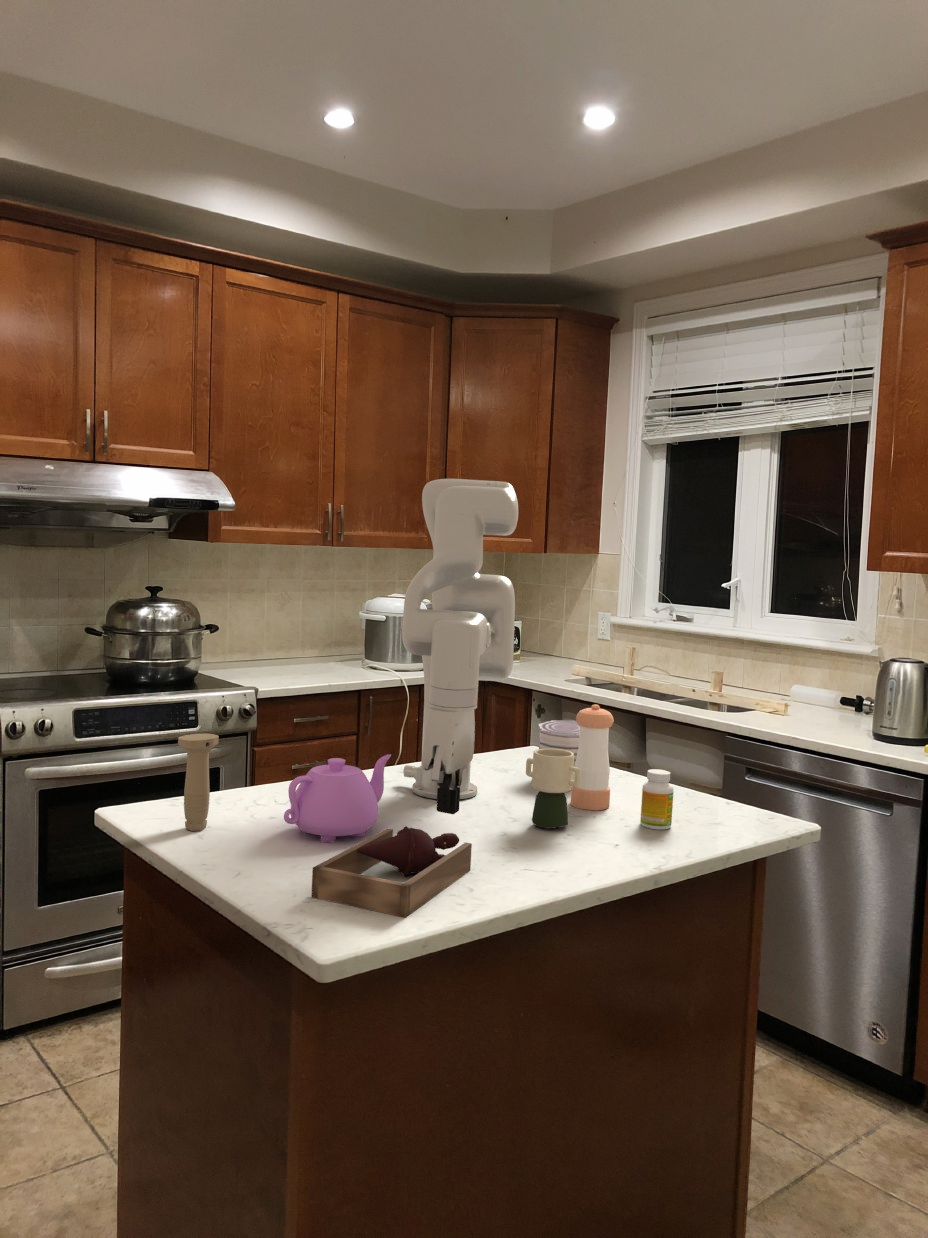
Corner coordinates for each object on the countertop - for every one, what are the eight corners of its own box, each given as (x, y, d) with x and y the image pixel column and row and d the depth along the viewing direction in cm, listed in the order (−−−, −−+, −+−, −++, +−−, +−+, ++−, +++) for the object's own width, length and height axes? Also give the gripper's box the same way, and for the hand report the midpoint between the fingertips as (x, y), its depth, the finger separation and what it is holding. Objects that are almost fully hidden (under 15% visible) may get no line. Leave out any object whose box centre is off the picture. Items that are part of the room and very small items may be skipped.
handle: (169, 829, 153) (172, 737, 152) (203, 822, 158) (206, 732, 157) (187, 836, 150) (190, 742, 149) (221, 828, 155) (224, 737, 154)
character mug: (587, 829, 165) (592, 755, 164) (565, 838, 159) (570, 761, 158) (534, 816, 171) (538, 744, 170) (512, 824, 166) (515, 750, 165)
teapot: (365, 813, 168) (368, 745, 167) (413, 834, 157) (416, 761, 156) (262, 830, 155) (265, 756, 155) (307, 854, 145) (309, 774, 144)
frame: (311, 897, 127) (312, 867, 127) (386, 854, 146) (387, 828, 146) (405, 917, 121) (407, 887, 121) (470, 870, 141) (471, 843, 140)
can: (600, 782, 199) (604, 725, 199) (572, 791, 191) (575, 732, 190) (554, 772, 206) (557, 717, 206) (524, 781, 198) (528, 723, 197)
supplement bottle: (671, 831, 166) (674, 776, 165) (639, 828, 167) (643, 773, 166) (671, 823, 171) (674, 769, 170) (640, 820, 172) (643, 767, 171)
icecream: (368, 842, 131) (469, 844, 136) (356, 814, 138) (453, 818, 143) (358, 886, 133) (458, 886, 138) (347, 856, 139) (443, 858, 145)
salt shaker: (609, 802, 184) (615, 703, 182) (608, 812, 177) (614, 709, 175) (571, 798, 185) (577, 700, 184) (569, 808, 178) (575, 706, 176)
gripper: (451, 686, 156) (445, 795, 159) (409, 702, 143) (404, 821, 145) (493, 692, 154) (487, 803, 156) (455, 709, 140) (449, 830, 142)
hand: (447, 811), depth 150 cm, fingers closed
